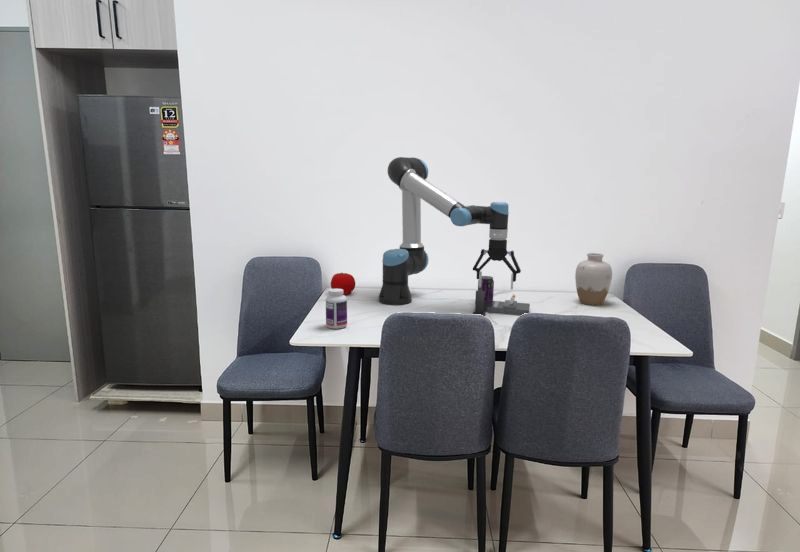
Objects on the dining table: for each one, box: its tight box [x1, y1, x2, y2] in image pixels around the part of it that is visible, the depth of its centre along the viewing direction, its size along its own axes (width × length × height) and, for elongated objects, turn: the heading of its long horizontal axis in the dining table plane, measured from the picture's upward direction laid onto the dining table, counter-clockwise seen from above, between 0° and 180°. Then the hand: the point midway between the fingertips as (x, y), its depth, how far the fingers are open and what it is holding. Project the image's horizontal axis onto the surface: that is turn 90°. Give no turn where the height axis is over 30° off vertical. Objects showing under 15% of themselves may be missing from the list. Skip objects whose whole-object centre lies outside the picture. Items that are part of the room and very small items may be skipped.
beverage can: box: [477, 275, 495, 301], centre depth 243 cm, size 7×7×12 cm
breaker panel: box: [484, 299, 531, 316], centre depth 231 cm, size 22×12×4 cm, turn 74°
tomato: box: [330, 272, 356, 296], centre depth 257 cm, size 12×12×10 cm
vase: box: [574, 252, 613, 306], centre depth 245 cm, size 16×16×23 cm
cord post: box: [472, 289, 486, 317], centre depth 223 cm, size 5×5×10 cm
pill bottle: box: [325, 288, 348, 330], centre depth 203 cm, size 8×8×14 cm
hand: (495, 287), depth 230 cm, fingers open, 13 cm apart
